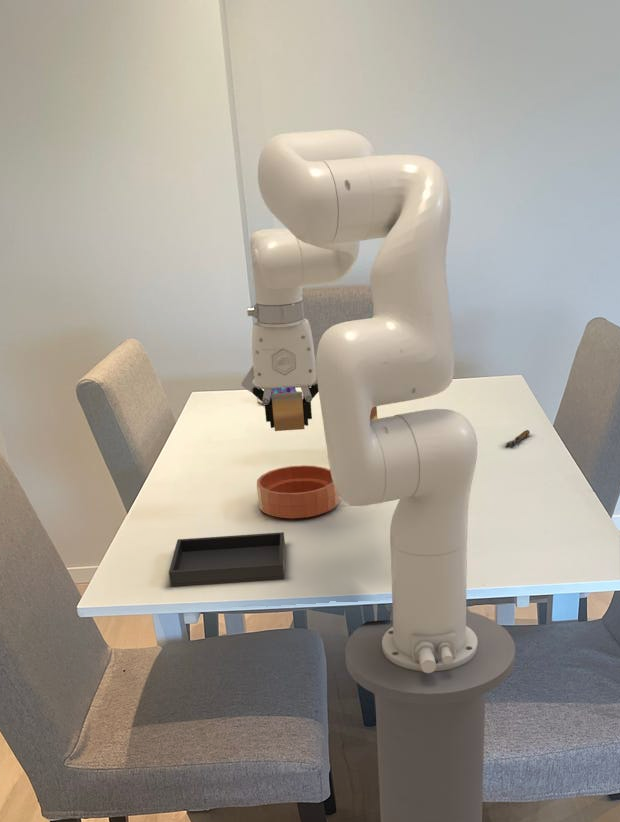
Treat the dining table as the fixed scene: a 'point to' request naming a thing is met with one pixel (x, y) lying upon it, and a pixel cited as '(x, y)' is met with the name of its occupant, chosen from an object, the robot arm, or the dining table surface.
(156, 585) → the dining table surface
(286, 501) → the bowl
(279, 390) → the pudding
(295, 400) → the block
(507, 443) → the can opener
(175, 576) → the pan
